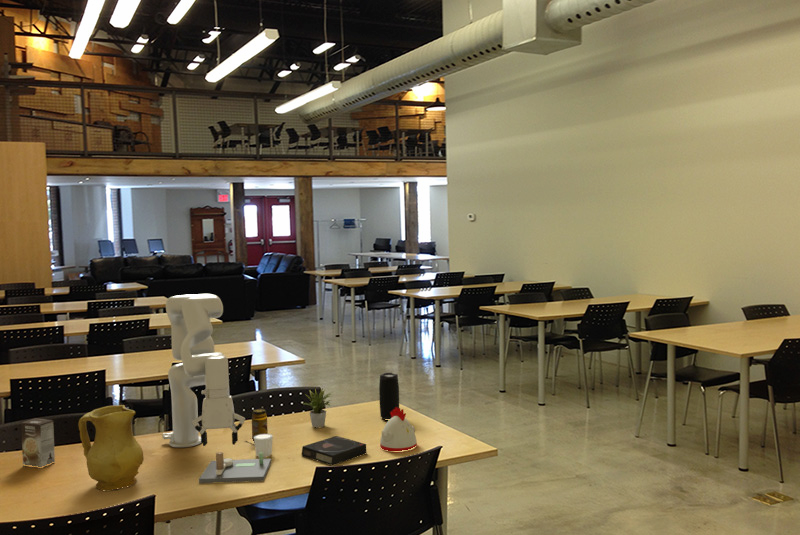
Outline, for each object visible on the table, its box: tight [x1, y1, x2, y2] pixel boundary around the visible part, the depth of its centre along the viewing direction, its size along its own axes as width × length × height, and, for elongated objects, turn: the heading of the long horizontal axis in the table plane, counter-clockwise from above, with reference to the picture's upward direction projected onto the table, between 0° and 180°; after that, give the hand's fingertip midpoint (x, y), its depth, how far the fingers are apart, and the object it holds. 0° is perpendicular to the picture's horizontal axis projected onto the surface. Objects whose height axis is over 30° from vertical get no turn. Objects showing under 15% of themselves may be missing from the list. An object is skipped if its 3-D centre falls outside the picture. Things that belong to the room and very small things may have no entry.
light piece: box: [215, 451, 234, 475], centre depth 229 cm, size 13×6×6 cm, turn 3°
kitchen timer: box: [379, 407, 418, 451], centre depth 255 cm, size 14×14×15 cm
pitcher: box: [78, 404, 144, 491], centre depth 222 cm, size 17×19×25 cm
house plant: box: [302, 388, 336, 429], centre depth 283 cm, size 14×14×16 cm
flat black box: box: [301, 435, 367, 466], centre depth 247 cm, size 16×17×4 cm
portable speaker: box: [378, 372, 400, 420], centre depth 293 cm, size 9×9×20 cm
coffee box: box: [20, 417, 56, 467], centre depth 242 cm, size 9×6×16 cm
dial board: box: [198, 452, 272, 484], centre depth 230 cm, size 21×18×6 cm
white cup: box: [254, 433, 274, 458], centre depth 248 cm, size 7×7×7 cm
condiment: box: [251, 408, 269, 441], centre depth 266 cm, size 7×8×12 cm
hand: (219, 444), depth 225 cm, fingers open, 9 cm apart
